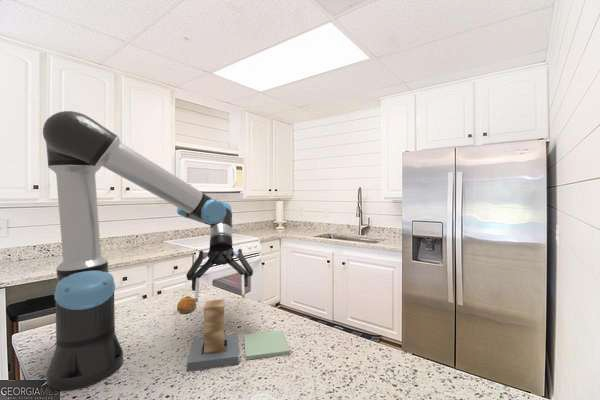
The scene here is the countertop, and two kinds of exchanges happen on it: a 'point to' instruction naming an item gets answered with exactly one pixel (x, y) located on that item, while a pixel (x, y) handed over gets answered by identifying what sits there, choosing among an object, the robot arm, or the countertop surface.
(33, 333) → the countertop surface
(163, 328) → the countertop surface
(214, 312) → the oak peg
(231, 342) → the pocket frame
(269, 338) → the rubber pad
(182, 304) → the pastry
